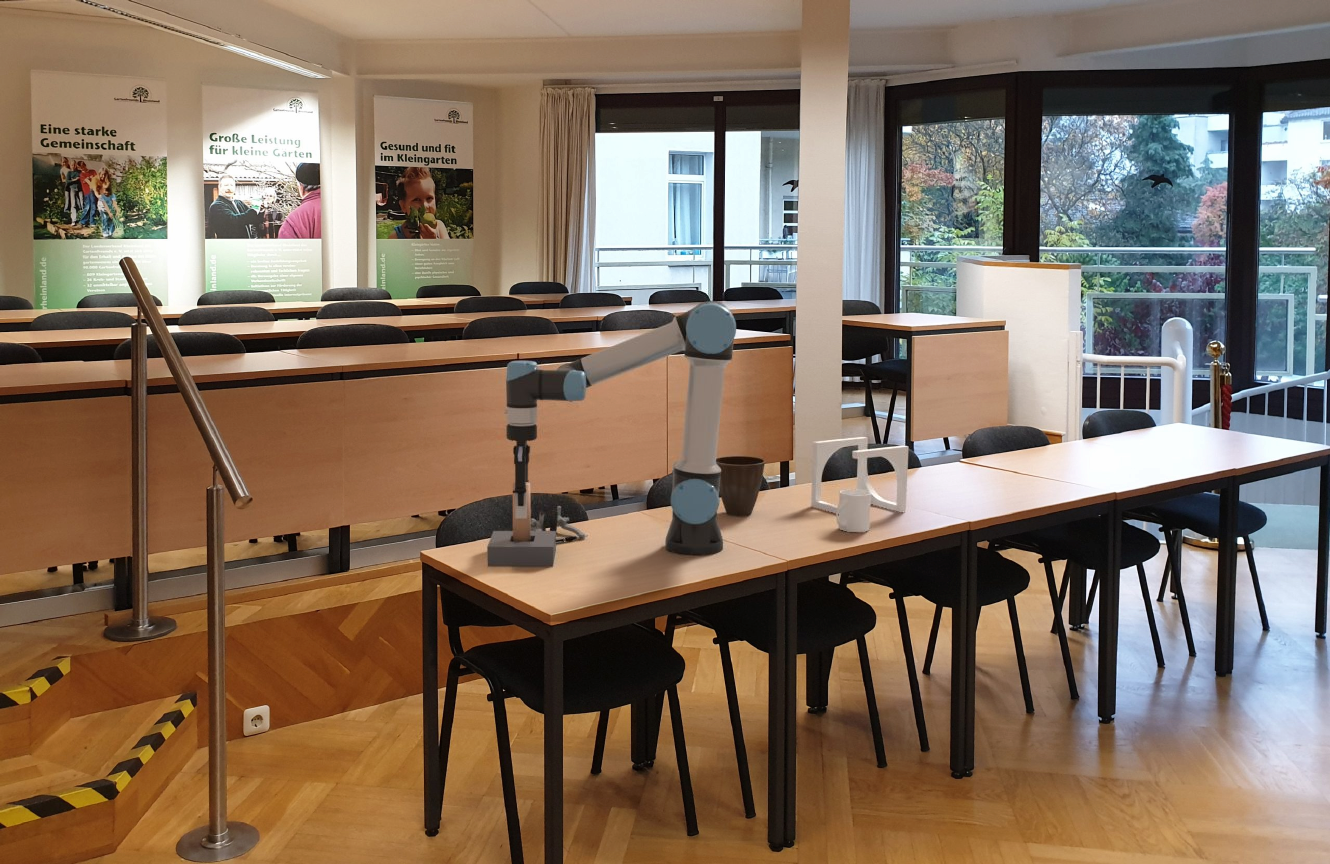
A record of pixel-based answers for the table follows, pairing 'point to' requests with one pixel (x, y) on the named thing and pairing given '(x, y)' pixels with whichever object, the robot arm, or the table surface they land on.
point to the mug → (854, 510)
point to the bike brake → (555, 525)
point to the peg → (522, 521)
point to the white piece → (860, 470)
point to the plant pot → (740, 483)
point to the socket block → (521, 550)
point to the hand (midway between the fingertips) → (521, 515)
